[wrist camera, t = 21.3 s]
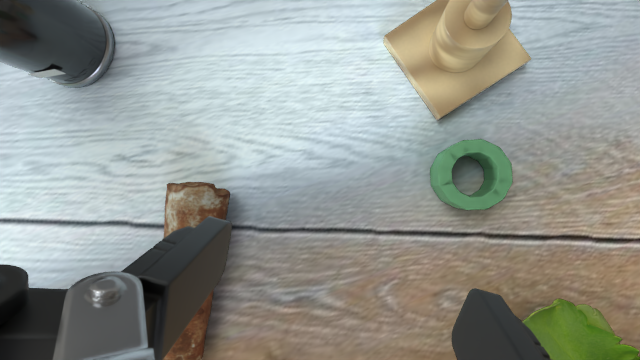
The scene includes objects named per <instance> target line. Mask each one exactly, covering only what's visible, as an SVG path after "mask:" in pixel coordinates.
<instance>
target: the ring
mask: <svg viewBox="0 0 640 360" xmlns="http://www.w3.org/2000/svg"><path fill="white" fill-rule="evenodd" d="M462 156H469V157H471V158H473V159H475V160H477V161H478V162H479V163H480V165H481V166H482V168H483V169H484V182H483V184H482V186H481V188H480V190H478V191H477V192H475V193H474V194H472V195H470V196H467V195H465V194H463V193H461V192H459V191H458V189H457V188H456V186H455V185H454V184H453V182H452V168H453V166H454V164H455V162H456V160H457V159H459V158H460V157H462ZM430 177H431V187H432V188H433V190H434V191H435V193H436V194H437V196H438V197H439V199H440V200H441V201H443V202H445V203H447V204H449V205H451V206H453V207H455V208H459V209H465V210H484V209H488V208H490V207H492V206H493V205H495V204H496V203H498V202H500V201H501V200H503V199H504V197H505V196H506V194H507V192H508V190H509V188H510V186H511V184H512V182H513V181H512V166H511V162H510V161H509V160H508V158H507V157H506V155H505V154H504V152H503V151H502V150H501V148H500V147H498V146H496V145H494V144H491V143H489V142H487V141H485V140H482V139H476V140H463V141H460V142H458V143H456V144H454V145H452V146H450V147H449V148H447V149H445V150H444V151H442V152H441V153H439V154H438V155H437V157H436V159H435V161H434V163H433V165H432V166H431V168H430Z"/></svg>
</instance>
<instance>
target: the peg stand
mask: <svg viewBox="0 0 640 360" xmlns="http://www.w3.org/2000/svg"><path fill="white" fill-rule="evenodd" d="M511 17H512V13H511V7H510V4H509V2H508V0H436V1H435V2H433V3H432V4H430V5H429V6H428V7H426V8H425V9H423V10H422V11H420V12H419V13H417V14H416V15H414V16H413V17H411V18H410V19H408V20H407V21H405V22H404V23H403V24H401V25H400V26H398V27H397V28H395V29H394V30H392V31H391V32H389V33H388V34H386V35H385V36H384V41H383V43H384V45H385V46H386V47H387V49H388V50H389V52H390V53H391V55H392V56H393V58H394V59H395V60H396V62H397V63H398V65H399V66H400V68H401V69H402V71H403V72H404V73H405V75H406V76H407V78H408V79H409V81H410V82H411V84H412V85H413V86H414V88H415V89H416V91H417V92H418V94H419V95H420V97H421V98H422V99H423V101H424V102H425V104H426V105H427V107H428V108H429V110H430V111H431V112H432V114H433V115H434V117H435V118H436V120H439V119H441V118H442V117H444V116H445V115H447V114H448V113H450V112H452V111H453V110H455V109H456V108H458V107H459V106H461V105H462V104H464V103H465V102H467V101H469V100H470V99H472V98H473V97H475V96H476V95H478V94H479V93H481V92H483V91H484V90H486V89H487V88H489V87H490V86H492V85H493V84H495V83H496V82H498V81H500V80H501V79H503V78H504V77H506V76H507V75H509V74H510V73H512V72H513V71H515V70H517V69H518V68H520V67H521V66H523V65H524V64H526V63H527V62H528V61H530V60H531V57H530V56H529V55H528V53H527V52H526V51H525V49H524V48H523V47H522V45H521V44H520V43H519V41H518V40H517V39H516V37H515V36H514V34H513V33H512V32H511V30H510V29H509V26H510V23H511Z"/></svg>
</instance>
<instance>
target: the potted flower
mask: <svg viewBox="0 0 640 360" xmlns="http://www.w3.org/2000/svg"><path fill="white" fill-rule="evenodd" d="M523 323H524V324H525V325H526V326H527V327H528V328H529V329H531V331H532V332H533V334H534V335H535V336H536V338H537V339H538V340H539V342H540V343H541V346H542V347H544V349H545V350H546V351H547V353H548V354H549V355H550V359H552V360H640V357H638V353H639V350H638V349H636V348H634V347H632V346H628V345H624V344H621V345H620V343H619V342H620V341H621V340H622V338H620V337H618V336H615V334H614V332H613V331H612V329H611V327H610V326H609V324H608V323H607V321H606V320H605V318H604V317H603V315H602V314H601V312H600V311H598V310H597V309H595V308H594V309H593V308H592V307H591V306H589V305H586V304H580V305H577V306H576V307H575V305H574V304H573V303H571V302H568V301H566V300H563V299H556V300H555V301H554V302H553V304H552V305H550V306H547V307H544V308H542V309H539V310H537V311H535V312H534V313H532V314H531V315H529V316H528V318H527V319H525V320H524V321H523ZM636 356H637V357H636Z"/></svg>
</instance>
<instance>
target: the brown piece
mask: <svg viewBox="0 0 640 360" xmlns="http://www.w3.org/2000/svg"><path fill="white" fill-rule="evenodd" d="M229 197H230V192H229V191H227V190H225V189H217V188H216V187H215V185H214V184H210V183H203V182H186V183H180V184H176V183H169V184H167V193H166V202H165V227H164V238H165V237H166V236H168V235H169V234H170V233H172V232H173V231H175V230H178V229H181V228H184V227H187V226H190V227H194V228H195V227H196V226H197V225H198V224H200V223H201V222H202V221H203V220H204V219H205V218H207V217H208V216H211V217H215V218H218V219H222V220H226V215H227V209H228V204H229ZM213 290H214V289H213ZM213 290H212V292H211V293H210V295H209V296H208V297H207V299H206V300H205V302H204V303H203V304H202V306H201V307H200V309H199V310H198V311H197V313H196V314H195V316H194V317H193V318H192V320H191V321H190V323H189V324H188V325H187V327H186V328H185V330H184V331H183V332H182V334H181V335H180V337H179V338H178V339H177V341H176V342H175V344H174V345H173V346H172V348H171V349H170V351H169V352H168V353H167V355H166V356H165V358H164V359H163V360H200V359H201V358H202V357H203V353H204V343H205V336H206V329H207V325H208V320H209V316H210V311H211V305H212V298H213Z"/></svg>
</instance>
